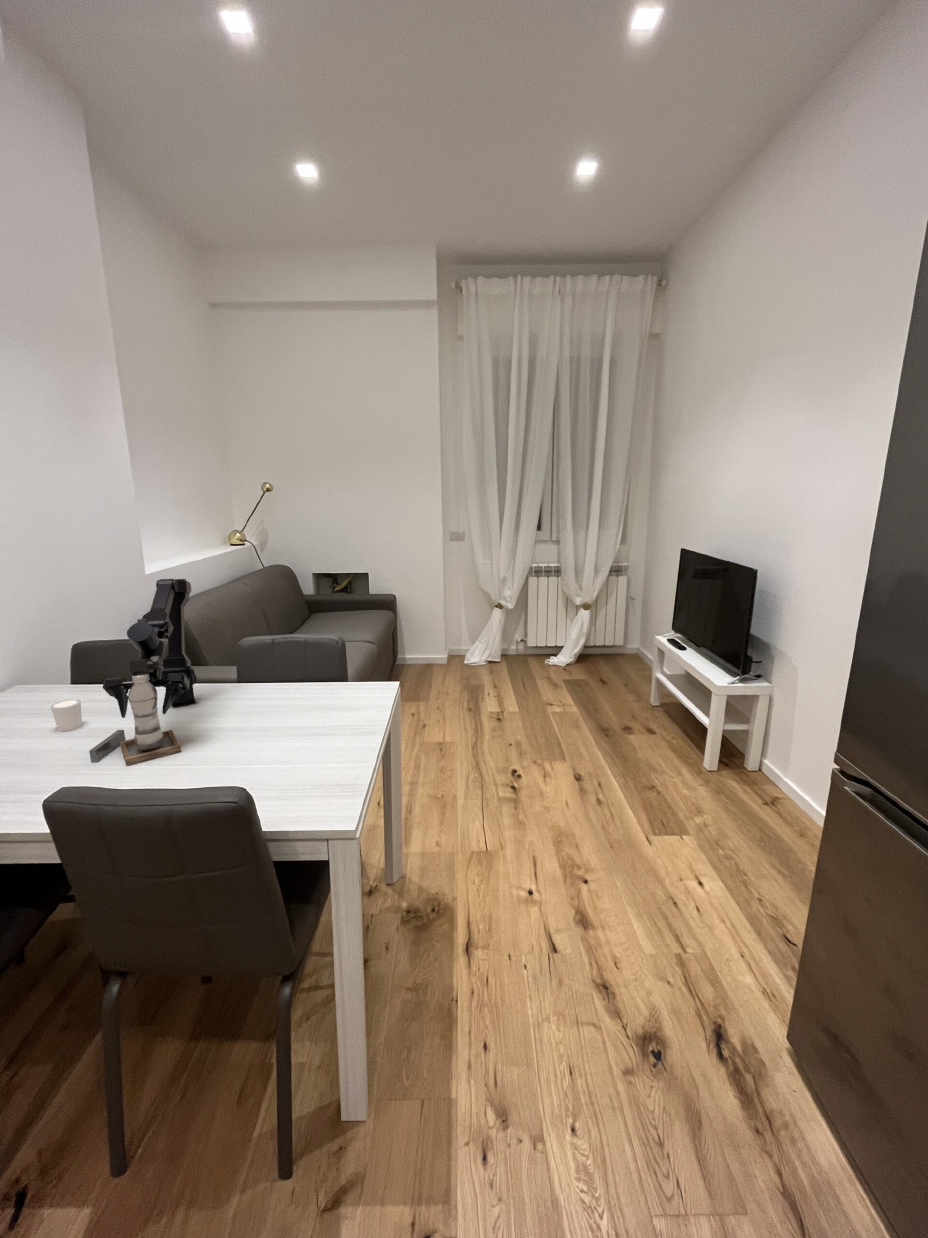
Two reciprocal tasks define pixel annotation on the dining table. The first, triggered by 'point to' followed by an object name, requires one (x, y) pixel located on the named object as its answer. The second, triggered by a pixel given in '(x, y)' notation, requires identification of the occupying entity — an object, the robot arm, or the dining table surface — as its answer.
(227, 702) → the dining table surface
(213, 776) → the dining table surface
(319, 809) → the dining table surface
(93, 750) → the bar
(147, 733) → the plastic bottle
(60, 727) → the white tapered cup
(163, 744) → the wooden tray
